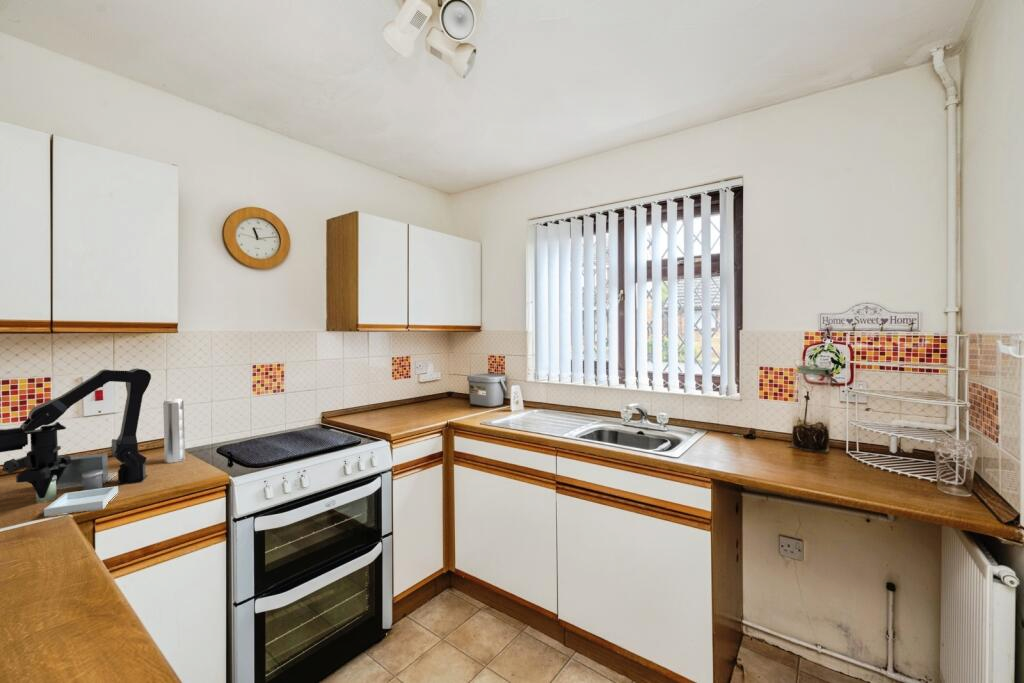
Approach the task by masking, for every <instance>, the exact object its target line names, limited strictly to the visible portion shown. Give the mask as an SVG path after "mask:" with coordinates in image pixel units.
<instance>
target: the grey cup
mask: <svg viewBox="0 0 1024 683" xmlns="http://www.w3.org/2000/svg"><path fill="white" fill-rule="evenodd" d="M102 474H103V470H93V471H88V472H85V473H83V474H82V478H83V486H82V487H83V491H85V490H92V489H100V488H103V483H102Z"/></svg>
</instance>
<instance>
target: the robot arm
mask: <svg viewBox="0 0 1024 683" xmlns="http://www.w3.org/2000/svg"><path fill="white" fill-rule="evenodd" d="M151 379H152V375H151V373H150V372H149V371H148V370H146V369H141V368H131V369H130V370H117V369H116V370H114V369H101V370H99V371H98V372H97V373H96V374H94V375H92V376H90V377H89V378H88V379H86V380H84V381H83V382H81V383H79V384H77V385H76V386H75V387H73V388H71V389H70V390H68V391H66V392H65V393H64V394H62V395H60V396H57V397H55V398H53V399H50V400H48V401H45V402H43V403H41V404H39V405H36V406H34V407H32V408H31V409H30V411H29V412H28V418H26V420H24V422H23V423H21V425H20V426H19V427H14V428H13V427H11V428H5V429H4V428H3V429H1V428H0V453H6V452H11V451H12V452H13V451H19V450H23V448H25V447H26V446H28V445H29V438H30V450H29V451H27V452H26V455H25V456H23V457H20V458H17V459H15V458H12V459H9V460H6V461H4V462H3V465H2V466H1V467H2V469H1V470H2V472H6V473H7V475H11V474H14V473H15V472H17V471H21V470H23V469H25V470H23V471H21V472H20V473H18V474H17V475H15V482H16V483H28V484H31V486H32V487H33V488H34V491H35V494H36V493H37V495H38V497H39V498H44V497H45V496H46V493H47V491H48V488H49V486H50V483H51V481H52V478H53V476H54V475H56V476H57V480H56V485H57V483H58V481H59V479H60V477H61V475H62V474H63V472H64V470H65V468H66V466H64V467H60V465H59V464H65V465H68V464H70V463H71V457H72V456H69V455H68V454H64V455H63V454H62V455H59V450H61V448H62V447H61V445H58V441H59V440H58V431H62V430H66V429H67V427H66V426H65V425H62V424H61V423H60V421H57V420H58V419H59V418H60V417H61V416H62V415H64V414H65V412H67V410H68V409H70V407H72V406H74V405H75V404H76V403H78V402H79V401H81V400H82V399H85V398H86V397H88V396H89V395H90V394H92V393H93V392H96V390H98V389H99V388H101V387H103V386H105V385H106V384H107V383H110V382H114V383H115V382H117V383H125V388H126V394H127V395H126V399H125V404H124V409H123V410H124V412H123V417H122V420H121V421H122V423H121V428H120V433H119V435H118V437H117V439H115V438H112V439H111V447H110V449H109V452H111V455H112V456H111V457H112V458H115V459H116V460H117V461H119V462H120V463H121V464H120V465H119V469H118V470H117V477H118V478H117V479H118V480H117V481H118V485H126V484H125V483H127V484H133V482H135V483H141V481H142V482H143V481H144V480H146V478H147V477H148V475H147V474H146V473H147V472H146V461H147V457H146V456H144V455H142V454H141V453H139V444H138V438H137V432H138V425H139V421H140V420H139V419H140V415H141V414H140V413H141V407H142V402H143V396H144V394H145V392H146V391H147V388H148V387H149V386H150V385H149V384H150V382H151ZM53 423H54V424H53ZM38 428H39V429H38ZM28 435H30V437H29V436H28ZM28 437H29V438H28Z"/></svg>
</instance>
